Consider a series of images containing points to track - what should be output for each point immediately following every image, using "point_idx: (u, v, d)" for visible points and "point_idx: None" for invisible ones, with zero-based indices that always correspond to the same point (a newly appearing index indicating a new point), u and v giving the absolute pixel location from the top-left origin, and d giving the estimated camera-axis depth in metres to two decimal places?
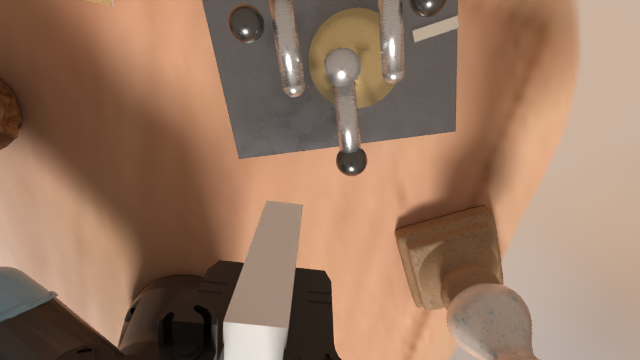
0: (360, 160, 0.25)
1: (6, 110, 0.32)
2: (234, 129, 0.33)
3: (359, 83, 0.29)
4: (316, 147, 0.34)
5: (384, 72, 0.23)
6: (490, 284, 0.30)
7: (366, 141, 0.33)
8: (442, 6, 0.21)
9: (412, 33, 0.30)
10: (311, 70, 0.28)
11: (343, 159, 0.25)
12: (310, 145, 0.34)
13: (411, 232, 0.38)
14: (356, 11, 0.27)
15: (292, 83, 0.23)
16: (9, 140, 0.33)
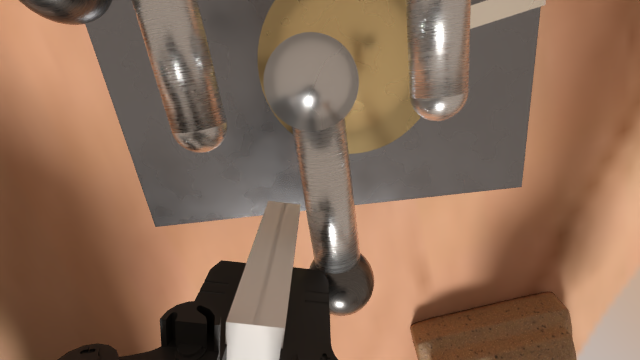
0: (359, 290, 0.11)
1: None
2: (143, 180, 0.19)
3: (357, 108, 0.15)
4: None
5: (417, 95, 0.09)
6: None
7: (368, 201, 0.20)
8: None
9: None
10: None
11: None
12: None
13: (437, 334, 0.24)
14: None
15: (188, 124, 0.09)
16: None
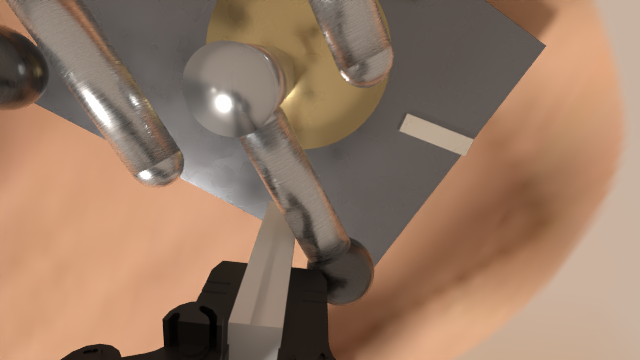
0: (355, 275, 0.11)
1: None
2: None
3: (320, 98, 0.15)
4: None
5: (341, 67, 0.09)
6: None
7: (246, 209, 0.20)
8: None
9: (404, 116, 0.18)
10: None
11: None
12: None
13: None
14: None
15: (140, 164, 0.10)
16: None
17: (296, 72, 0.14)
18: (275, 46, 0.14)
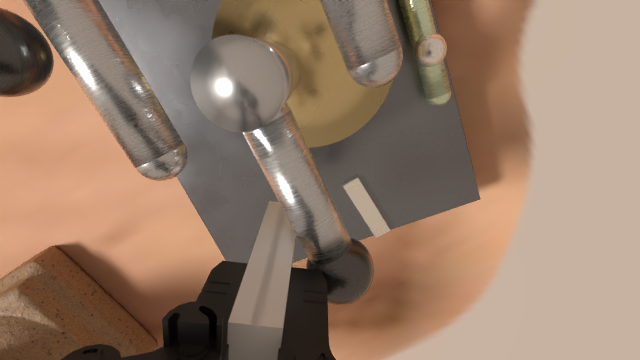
0: (355, 275, 0.11)
1: None
2: None
3: (324, 97, 0.15)
4: None
5: (350, 66, 0.09)
6: None
7: None
8: None
9: (353, 178, 0.19)
10: None
11: None
12: None
13: (57, 274, 0.22)
14: None
15: (143, 156, 0.10)
16: None
17: (301, 70, 0.14)
18: (281, 43, 0.14)
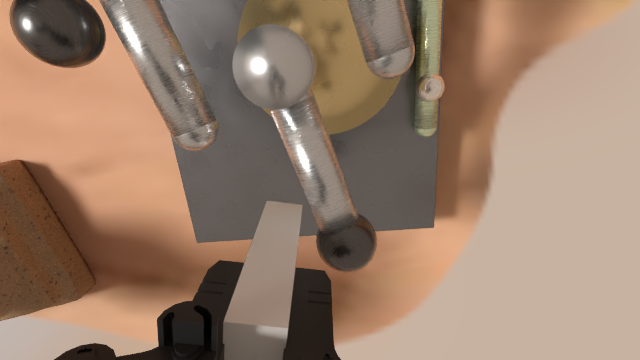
0: (361, 244, 0.12)
1: None
2: None
3: (337, 89, 0.16)
4: None
5: (369, 59, 0.10)
6: None
7: None
8: None
9: None
10: None
11: (328, 249, 0.12)
12: None
13: (16, 188, 0.22)
14: None
15: (183, 126, 0.11)
16: None
17: (318, 63, 0.16)
18: (302, 37, 0.15)
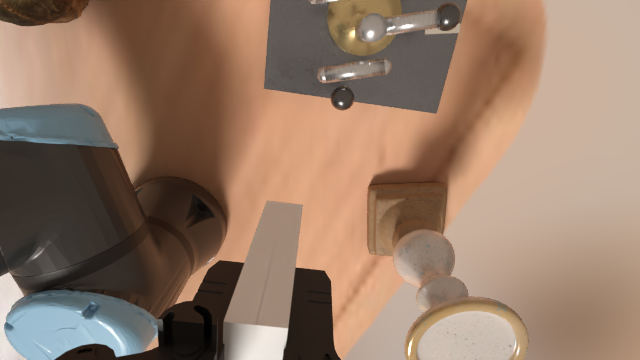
0: (448, 9, 0.30)
1: None
2: (267, 62, 0.40)
3: (381, 12, 0.35)
4: (328, 96, 0.41)
5: None
6: (432, 230, 0.39)
7: (367, 102, 0.42)
8: None
9: None
10: (369, 53, 0.37)
11: (445, 24, 0.30)
12: (323, 93, 0.41)
13: (381, 188, 0.46)
14: (329, 17, 0.36)
15: (382, 67, 0.32)
16: (74, 17, 0.39)
17: None
18: (356, 23, 0.36)
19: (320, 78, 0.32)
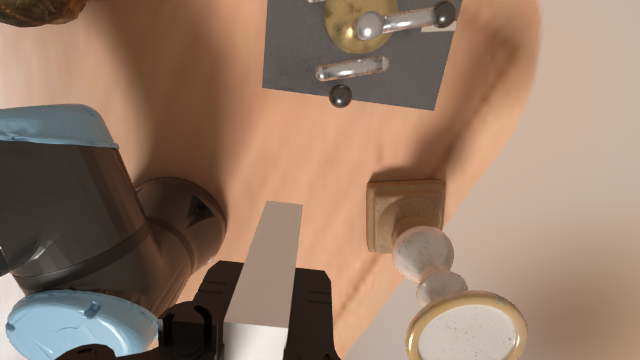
0: (444, 6, 0.30)
1: None
2: (265, 62, 0.40)
3: (378, 10, 0.36)
4: (326, 94, 0.42)
5: None
6: (431, 226, 0.40)
7: (365, 100, 0.42)
8: None
9: None
10: (367, 51, 0.37)
11: (441, 21, 0.31)
12: (321, 91, 0.42)
13: (380, 185, 0.47)
14: (326, 15, 0.36)
15: (380, 64, 0.32)
16: (71, 18, 0.39)
17: None
18: (353, 22, 0.36)
19: (318, 76, 0.33)
